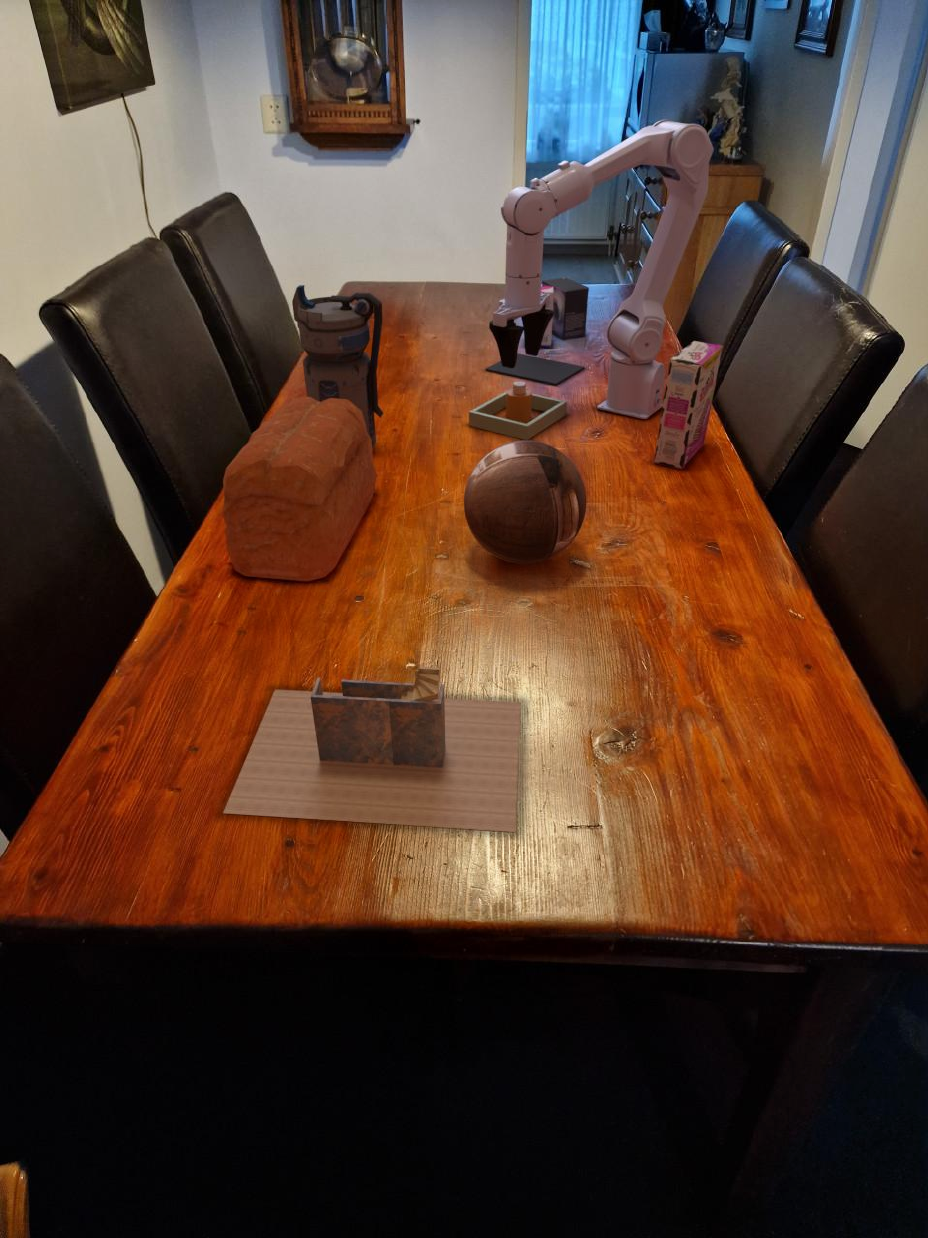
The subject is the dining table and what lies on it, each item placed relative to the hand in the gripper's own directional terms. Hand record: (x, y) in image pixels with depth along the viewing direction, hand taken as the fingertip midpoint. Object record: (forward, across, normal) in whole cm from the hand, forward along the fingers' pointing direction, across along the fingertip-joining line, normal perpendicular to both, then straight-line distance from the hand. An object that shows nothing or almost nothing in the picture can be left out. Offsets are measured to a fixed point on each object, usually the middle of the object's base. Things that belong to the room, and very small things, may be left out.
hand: (520, 360), depth 136 cm
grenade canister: (+11, +26, -16) cm, 32 cm away
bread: (+11, +49, -4) cm, 50 cm away
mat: (+10, -25, -11) cm, 29 cm away
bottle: (+10, 0, 0) cm, 10 cm away
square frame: (+10, 0, 0) cm, 10 cm away
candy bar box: (+11, -2, +29) cm, 31 cm away
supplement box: (+11, -40, -19) cm, 46 cm away
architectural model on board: (+11, +77, +32) cm, 84 cm away
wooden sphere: (+11, +39, +24) cm, 47 cm away
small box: (+11, -51, -19) cm, 55 cm away
